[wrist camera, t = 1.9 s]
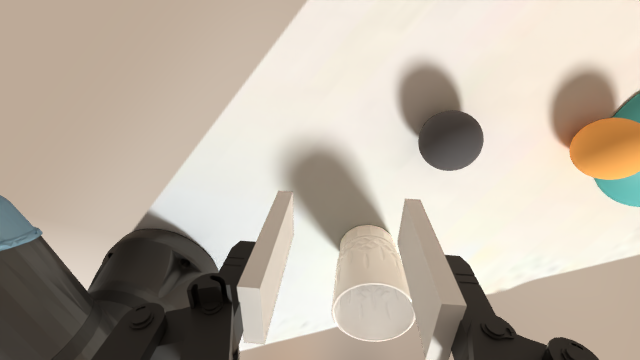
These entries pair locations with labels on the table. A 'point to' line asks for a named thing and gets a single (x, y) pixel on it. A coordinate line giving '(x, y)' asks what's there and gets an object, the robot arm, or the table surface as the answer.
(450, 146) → the dark grey sphere
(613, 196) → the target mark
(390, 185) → the table surface
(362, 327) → the white cup
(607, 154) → the object ball
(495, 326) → the robot arm
